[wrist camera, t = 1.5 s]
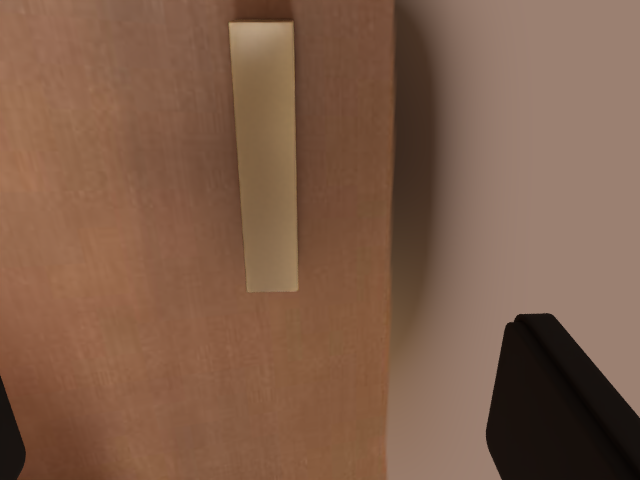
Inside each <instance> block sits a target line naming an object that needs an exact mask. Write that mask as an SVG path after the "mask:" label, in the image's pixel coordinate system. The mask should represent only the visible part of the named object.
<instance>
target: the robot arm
mask: <svg viewBox="0 0 640 480" xmlns="http://www.w3.org/2000/svg"><path fill="white" fill-rule="evenodd" d="M486 441H487V445H488V449H489V452H490V454H491V456H492V458H493V461H494V463H495V465H496V467H497V470H498V472H499V474H500V477H501V479H502V480H640V418H639V416H638V415H637V414H636V413H635V412H634V411H633V409H632V408H631V407H630V406H629V405H628V403H627V402H626V401H625V400H624V399H623V398H622V396H621V395H620V394H619V393H618V392H617V390H616V389H615V388H614V387H613V386H612V384H611V383H610V382H609V381H608V380H607V378H606V377H605V376H604V375H603V374H602V372H601V371H600V370H599V369H598V368H597V367H596V365H595V364H594V363H593V362H592V361H591V359H590V358H589V357H588V356H587V355H586V353H584V351H583V350H582V349H581V348H580V346H579V345H578V344H577V343H576V342H575V340H574V339H573V338H572V337H571V336H570V334H569V333H568V332H567V331H566V330H565V328H564V327H563V326H562V325H561V324H560V322H559V321H558V320H557V319H556V318H555V317H554V316H553V315H552V314H548V313H546V314H545V313H543V314H519V315H517V316H516V318H515V320H514V322H509V323H507V325H506V327H505V331H504V337H503V341H502V347H501V352H500V358H499V363H498V369H497V374H496V379H495V385H494V390H493V395H492V400H491V406H490V412H489V417H488V422H487V428H486ZM25 457H26V451H25V447H24V444H23V441H22V438H21V435H20V432H19V429H18V426H17V423H16V420H15V417H14V414H13V411H12V408H11V405H10V402H9V399H8V396H7V394H6V391H5V388H4V385H3V382H2V379H1V376H0V480H17V478H18V476H19V474H20V473H21V471H22V469H23V466H24V463H25Z"/></svg>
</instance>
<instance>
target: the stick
mask: <svg viewBox="0 0 640 480" xmlns="http://www.w3.org/2000/svg"><path fill="white" fill-rule="evenodd" d="M228 28H229V42H230V57H231V72H232V86H233V101H234V115H235V130H236V144H237V159H238V174H239V188H240V203H241V217H242V232H243V247H244V261H245V276H246V290H247V292H248V293H249V292H290V291H298V290H299V289H298V233H297V177H296V121H295V66H294V21H293V20H273V19H236V20H232V21H229V22H228Z"/></svg>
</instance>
